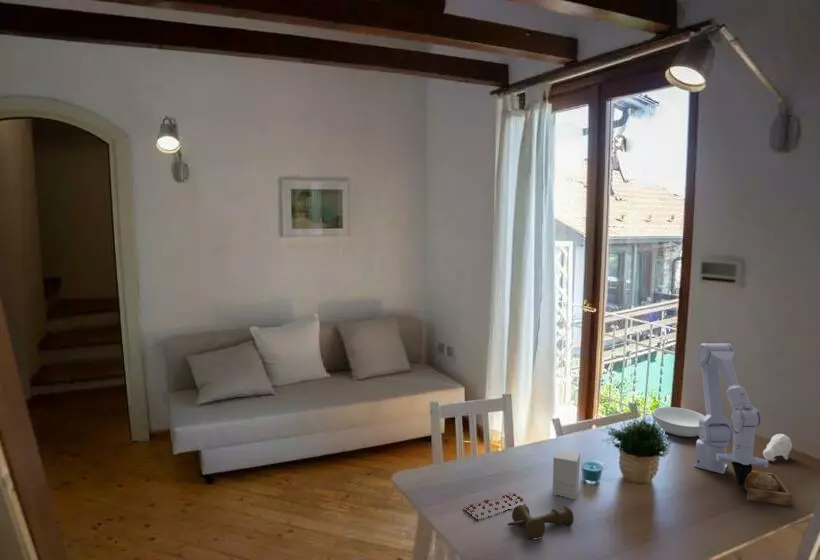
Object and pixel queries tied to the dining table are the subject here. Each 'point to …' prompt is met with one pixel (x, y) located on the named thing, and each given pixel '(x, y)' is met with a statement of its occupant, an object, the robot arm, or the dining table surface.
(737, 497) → the dining table surface
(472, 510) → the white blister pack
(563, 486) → the supplement box
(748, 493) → the wooden tray
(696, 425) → the serving bowl
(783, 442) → the white lumpy piece
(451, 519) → the dining table surface
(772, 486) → the bread roll
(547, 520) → the kendama
